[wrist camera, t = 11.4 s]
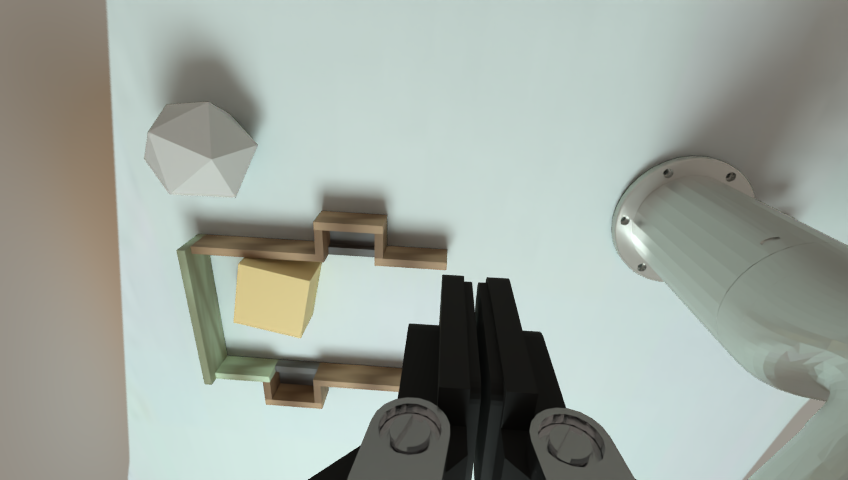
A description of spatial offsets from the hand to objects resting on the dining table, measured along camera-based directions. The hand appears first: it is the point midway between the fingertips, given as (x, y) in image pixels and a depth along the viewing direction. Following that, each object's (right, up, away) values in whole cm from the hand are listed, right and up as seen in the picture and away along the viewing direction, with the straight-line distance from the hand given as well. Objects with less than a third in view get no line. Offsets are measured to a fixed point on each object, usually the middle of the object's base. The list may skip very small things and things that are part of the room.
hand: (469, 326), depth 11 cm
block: (-16, -2, +36) cm, 40 cm away
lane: (-12, -5, +37) cm, 40 cm away
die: (-20, +12, +30) cm, 38 cm away
